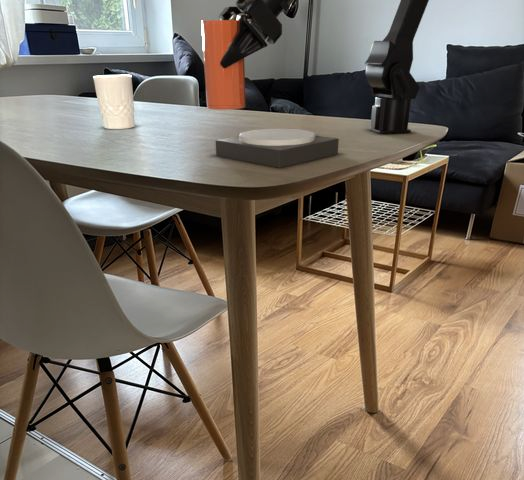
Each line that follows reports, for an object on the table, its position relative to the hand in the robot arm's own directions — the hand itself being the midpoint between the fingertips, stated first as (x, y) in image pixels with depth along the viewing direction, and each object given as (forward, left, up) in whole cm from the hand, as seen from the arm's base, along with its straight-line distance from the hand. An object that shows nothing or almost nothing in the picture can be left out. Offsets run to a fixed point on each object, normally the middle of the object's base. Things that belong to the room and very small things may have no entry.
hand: (216, 65), depth 87 cm
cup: (-1, 0, -7) cm, 7 cm away
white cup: (+20, -26, -13) cm, 35 cm away
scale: (-8, +14, -12) cm, 21 cm away
